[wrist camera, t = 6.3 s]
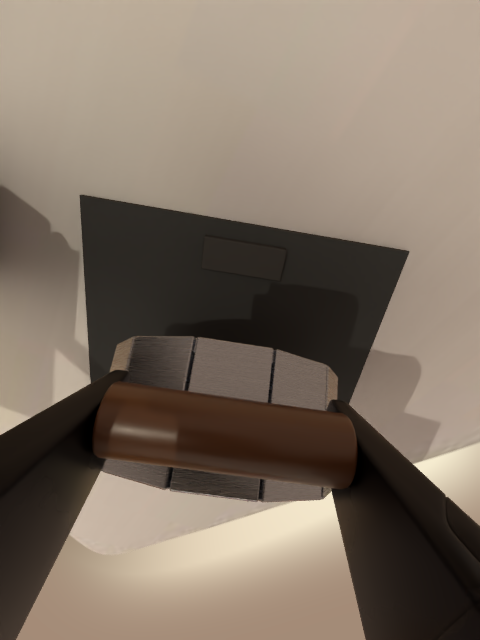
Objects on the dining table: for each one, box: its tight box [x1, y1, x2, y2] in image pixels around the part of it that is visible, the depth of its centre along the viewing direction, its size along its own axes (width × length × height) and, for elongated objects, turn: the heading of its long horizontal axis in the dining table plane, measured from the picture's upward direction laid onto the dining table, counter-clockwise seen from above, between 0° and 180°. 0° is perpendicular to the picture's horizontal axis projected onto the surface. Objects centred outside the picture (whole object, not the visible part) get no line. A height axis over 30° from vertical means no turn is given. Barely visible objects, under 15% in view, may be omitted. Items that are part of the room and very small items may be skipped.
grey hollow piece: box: [92, 336, 358, 502], centre depth 14 cm, size 11×14×5 cm
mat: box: [80, 195, 409, 404], centre depth 21 cm, size 20×18×2 cm
